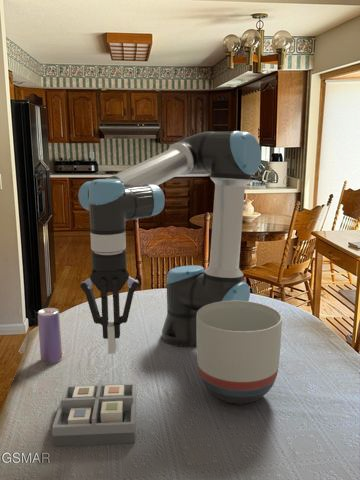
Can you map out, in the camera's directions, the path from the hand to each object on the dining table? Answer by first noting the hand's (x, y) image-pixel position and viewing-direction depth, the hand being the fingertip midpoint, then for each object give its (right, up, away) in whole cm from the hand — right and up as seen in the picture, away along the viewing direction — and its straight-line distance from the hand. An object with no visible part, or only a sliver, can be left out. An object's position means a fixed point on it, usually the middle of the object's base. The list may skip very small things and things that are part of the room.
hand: (112, 350), depth 109 cm
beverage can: (-22, -10, +30) cm, 38 cm away
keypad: (-3, -16, 0) cm, 16 cm away
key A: (0, -13, +3) cm, 13 cm away
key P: (+1, -14, -4) cm, 15 cm away
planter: (+30, -14, +10) cm, 34 cm away
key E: (-7, -13, +3) cm, 15 cm away
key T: (-6, -16, -4) cm, 17 cm away
